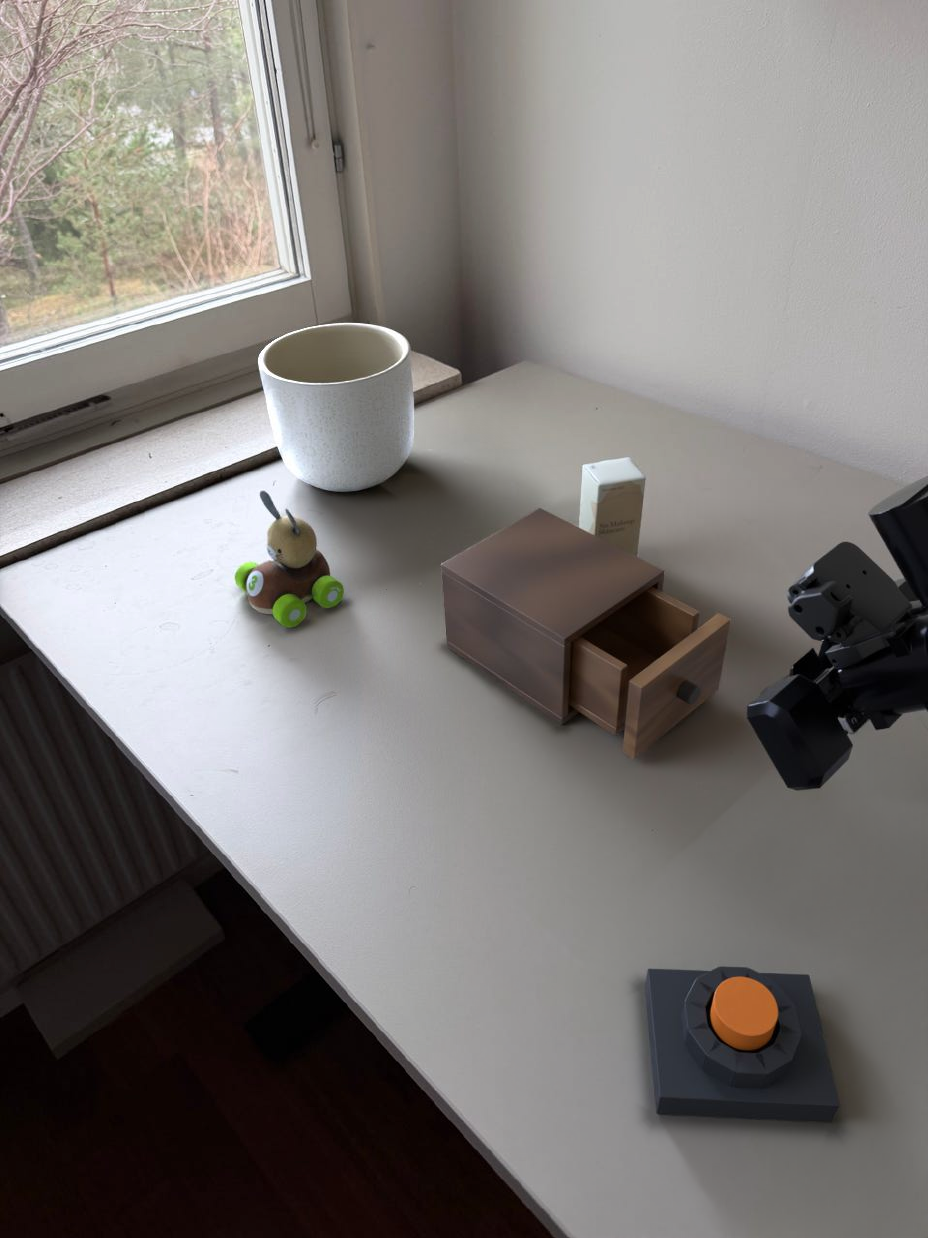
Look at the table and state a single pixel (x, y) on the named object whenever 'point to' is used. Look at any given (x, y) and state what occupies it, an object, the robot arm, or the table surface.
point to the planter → (340, 403)
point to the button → (744, 1013)
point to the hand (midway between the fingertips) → (765, 697)
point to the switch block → (737, 1051)
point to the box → (613, 502)
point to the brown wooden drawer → (646, 667)
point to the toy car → (289, 571)
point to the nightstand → (536, 602)
